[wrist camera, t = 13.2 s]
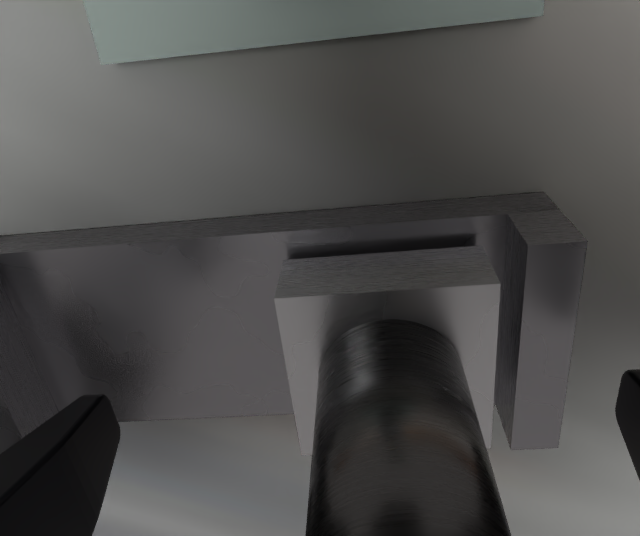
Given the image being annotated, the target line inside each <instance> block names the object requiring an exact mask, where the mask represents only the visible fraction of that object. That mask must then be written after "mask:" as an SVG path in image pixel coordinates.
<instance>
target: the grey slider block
mask: <svg viewBox="0 0 640 536" xmlns="http://www.w3.org/2000/svg"><path fill="white" fill-rule="evenodd" d="M500 286H501V283H500V281H499V279H498V277H497V275H496V273H495V271H494V269H493V267H492V265H491V263H490V261H489V259H488V256H487V254H486V252H485V250H484V248H483V246H468V247H454V248H440V249H427V250H413V251H399V252H385V253H372V254H358V255H344V256H330V257H317V258H303V259H289V260H283V263H282V267H281V271H280V276H279V280H278V284H277V288H276V292H275V297H274V301H275V307H276V313H277V318H278V324H279V330H280V336H281V341H282V347H283V353H284V358H285V364H286V370H287V376H288V381H289V387H290V393H291V399H292V404H293V410H294V416H295V421H296V427H297V433H298V439H299V444H300V450H301V455H312V463H311V475H310V487H309V500H308V512H307V525H306V536H511V533H510V530H509V526H508V523H507V519H506V516H505V512H504V509H503V505H502V502H501V498H500V495H499V491H498V488H497V484H496V481H495V477H494V474H493V470H492V467H491V463H490V460H489V456H488V453H487V449H489V448H491V437H492V420H493V403H494V387H495V370H496V353H497V337H498V320H499V303H500Z"/></svg>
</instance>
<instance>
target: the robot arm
mask: <svg viewBox="0 0 640 536" xmlns="http://www.w3.org/2000/svg"><path fill="white" fill-rule="evenodd" d="M615 412H616V419H617V422H618V425H619V427H620V430H621V433H622V435H623V438H624V441H625V443H626V446H627V449H628V451H629V454H630V456H631V459H632V462H633V464H634V467H635V470H636V472H637V475H638V477H639V480H640V369H637V370H627V371H625V372H624V374H623V376H622V378H621V383H620V388H619V393H618V397H617V402H616V408H615ZM119 440H120V427H119V424H118V421H117V418H116V416H115V413H114V410H113V408H112V405H111V402H110V400H109V398H108V397H107V396H106V395H104V394H87V395H83V396H81V397H79V398H78V399H76V400H75V401H73V402H72V403H71V404H69V405H68V406H66V407H65V408H64V409H62V410H61V411H59V412H58V413H57V414H55V415H54V416H52V417H51V418H50V419H48V420H47V421H45V422H44V423H43V424H41V425H40V426H38V427H37V428H36V429H34V430H33V431H32V432H30V433H29V434H27V435H26V436H25V437H23V438H22V439H20V440H19V441H18V442H16V443H15V444H13V445H12V446H11V447H9V448H8V449H6V450H5V451H4V452H2V453H1V454H0V536H92V534H93V531H94V528H95V526H96V523H97V520H98V517H99V514H100V510H101V507H102V503H103V500H104V496H105V492H106V489H107V485H108V481H109V478H110V474H111V470H112V466H113V463H114V459H115V455H116V452H117V448H118V444H119Z"/></svg>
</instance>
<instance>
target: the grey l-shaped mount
mask: <svg viewBox="0 0 640 536" xmlns="http://www.w3.org/2000/svg"><path fill="white" fill-rule="evenodd" d="M83 3H84V7H85V10H86V14H87V17H88V21H89V24H90V28H91V31H92V35H93V38H94V42H95V45H96V49H97V52H98V56H99V59H100V63H101V65H107V64H116V63H125V62H134V61H143V60H152V59H161V58H170V57H179V56H188V55H197V54H205V53H214V52H223V51H232V50H241V49H250V48H259V47H268V46H277V45H286V44H295V43H304V42H313V41H322V40H331V39H340V38H349V37H358V36H367V35H376V34H385V33H394V32H402V31H411V30H420V29H429V28H438V27H447V26H456V25H465V24H474V23H483V22H492V21H501V20H510V19H519V18H528V17H537V16H543V11H544V0H83Z"/></svg>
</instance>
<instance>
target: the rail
mask: <svg viewBox="0 0 640 536" xmlns="http://www.w3.org/2000/svg"><path fill="white" fill-rule="evenodd" d="M587 242H588V241H587V240H586V239H585V238H584V237H583V235H582V234H581V233H580V232H579V231H578V230H577V229H576V227H575V226H574V225H573V224H572V223H571V222H570V221H569V220H568V218H567V217H566V216H565V215H564V214H563V213H562V212H561V211H560V209H559V208H558V207H557V206H556V205H555V204H554V203H553V202H552V200H551V199H550V198H549V197H548V196H547V195H546V194H545V193H544V192H537V193H524V194H512V195H500V196H487V197H475V198H463V199H450V200H438V201H426V202H414V203H401V204H389V205H377V206H364V207H352V208H340V209H327V210H315V211H303V212H291V213H278V214H266V215H254V216H241V217H229V218H217V219H204V220H192V221H180V222H168V223H155V224H143V225H131V226H118V227H106V228H94V229H81V230H69V231H57V232H44V233H32V234H20V235H8V236H0V454H1V453H2V452H4V451H5V450H6V449H8V448H9V447H11V446H12V445H13V444H15V443H16V442H18V441H19V440H20V439H22V438H23V437H25V436H26V435H27V434H29V433H30V432H32V431H33V430H34V429H36V428H37V427H38V426H40V425H41V424H43V423H44V422H45V421H47V420H48V419H50V418H51V417H52V416H54V415H55V414H57V413H58V412H59V411H61V410H62V409H64V408H65V407H66V406H68V405H69V404H71V403H72V402H73V401H75V400H76V399H78V398H79V397H81V396H83V395H87V394H104V395H106V396H107V397H108V398H109V400H110V402H111V405H112V408H113V410H114V413H115V416H116V418H117V421H118V422H123V421H146V420H168V419H190V418H212V417H235V416H257V415H279V414H294V410H293V404H292V399H291V393H290V387H289V381H288V376H287V370H286V364H285V358H284V353H283V347H282V341H281V336H280V330H279V324H278V318H277V313H276V307H275V301H274V297H275V292H276V288H277V284H278V280H279V276H280V271H281V267H282V263H283V260H289V259H303V258H317V257H330V256H344V255H358V254H372V253H385V252H399V251H413V250H427V249H440V248H454V247H468V246H483V248H484V250H485V252H486V254H487V256H488V259H489V261H490V263H491V265H492V267H493V269H494V271H495V273H496V275H497V277H498V279H499V281H500V283H501V286H500V303H499V320H498V337H497V353H496V370H495V387H494V403H493V405H496V407H497V410H498V413H499V416H500V419H501V422H502V425H503V428H504V431H505V434H506V437H507V440H508V443H509V446H510V449H511V450H516V449H543V448H558V445H559V438H560V431H561V424H562V417H563V410H564V403H565V396H566V389H567V382H568V375H569V368H570V361H571V354H572V347H573V340H574V333H575V326H576V319H577V312H578V305H579V298H580V291H581V284H582V277H583V270H584V263H585V256H586V249H587Z"/></svg>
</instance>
